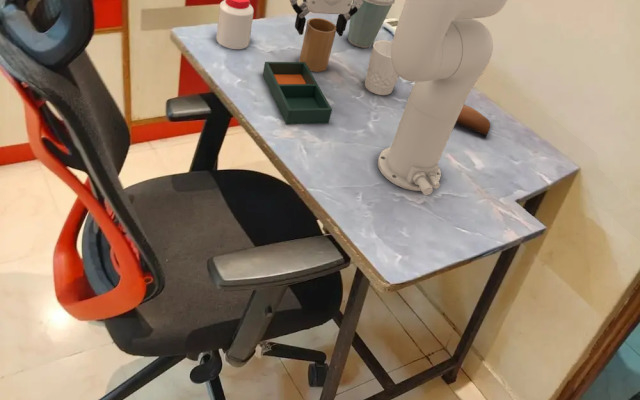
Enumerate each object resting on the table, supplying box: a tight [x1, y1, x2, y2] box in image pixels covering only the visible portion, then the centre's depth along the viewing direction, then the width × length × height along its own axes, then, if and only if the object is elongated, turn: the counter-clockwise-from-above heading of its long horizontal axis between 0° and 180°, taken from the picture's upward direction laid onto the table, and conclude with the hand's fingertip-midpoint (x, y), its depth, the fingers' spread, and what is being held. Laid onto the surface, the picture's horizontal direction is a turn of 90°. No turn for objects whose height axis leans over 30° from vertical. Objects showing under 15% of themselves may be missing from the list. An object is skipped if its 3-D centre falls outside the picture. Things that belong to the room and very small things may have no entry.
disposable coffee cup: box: [347, 0, 396, 49], centre depth 148 cm, size 11×11×15 cm
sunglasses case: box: [455, 104, 491, 137], centre depth 133 cm, size 18×7×7 cm
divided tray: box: [262, 61, 333, 126], centre depth 126 cm, size 9×18×4 cm, turn 20°
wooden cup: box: [298, 17, 337, 73], centre depth 136 cm, size 7×7×10 cm
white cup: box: [364, 39, 400, 96], centre depth 134 cm, size 8×8×10 cm
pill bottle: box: [216, 0, 255, 50], centre depth 136 cm, size 8×8×11 cm
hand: (319, 32), depth 134 cm, fingers open, 9 cm apart
